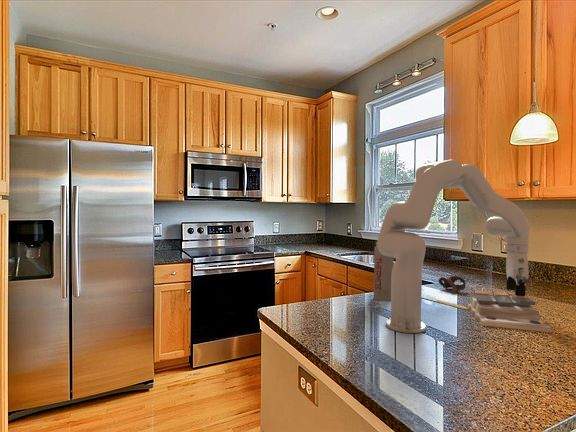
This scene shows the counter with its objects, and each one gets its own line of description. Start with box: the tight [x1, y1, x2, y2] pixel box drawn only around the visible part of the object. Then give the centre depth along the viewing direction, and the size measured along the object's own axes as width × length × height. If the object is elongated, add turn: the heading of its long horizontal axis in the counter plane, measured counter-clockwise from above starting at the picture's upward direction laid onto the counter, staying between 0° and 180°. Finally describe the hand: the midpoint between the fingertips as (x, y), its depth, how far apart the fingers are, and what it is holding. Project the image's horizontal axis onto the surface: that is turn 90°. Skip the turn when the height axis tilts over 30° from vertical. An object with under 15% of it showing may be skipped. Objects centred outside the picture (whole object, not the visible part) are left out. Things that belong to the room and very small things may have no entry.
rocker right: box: [511, 294, 536, 306], centre depth 123 cm, size 8×5×2 cm, turn 163°
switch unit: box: [467, 296, 553, 333], centre depth 123 cm, size 22×20×5 cm
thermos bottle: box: [373, 234, 394, 302], centre depth 148 cm, size 8×8×28 cm
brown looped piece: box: [437, 275, 467, 294], centre depth 164 cm, size 12×10×8 cm
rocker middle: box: [492, 291, 514, 306], centre depth 125 cm, size 8×5×2 cm, turn 163°
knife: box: [421, 295, 470, 311], centre depth 147 cm, size 1×32×5 cm
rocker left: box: [473, 289, 494, 304], centre depth 127 cm, size 8×5×2 cm, turn 163°
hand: (515, 292), depth 131 cm, fingers open, 9 cm apart
